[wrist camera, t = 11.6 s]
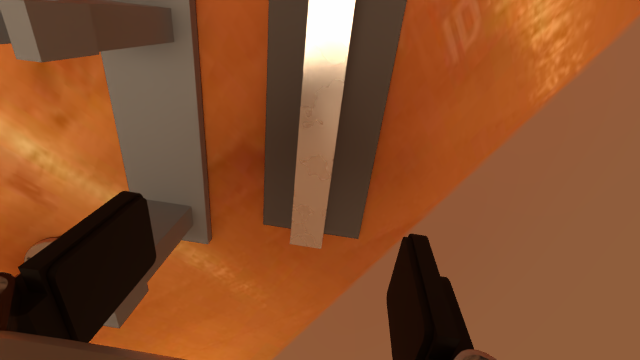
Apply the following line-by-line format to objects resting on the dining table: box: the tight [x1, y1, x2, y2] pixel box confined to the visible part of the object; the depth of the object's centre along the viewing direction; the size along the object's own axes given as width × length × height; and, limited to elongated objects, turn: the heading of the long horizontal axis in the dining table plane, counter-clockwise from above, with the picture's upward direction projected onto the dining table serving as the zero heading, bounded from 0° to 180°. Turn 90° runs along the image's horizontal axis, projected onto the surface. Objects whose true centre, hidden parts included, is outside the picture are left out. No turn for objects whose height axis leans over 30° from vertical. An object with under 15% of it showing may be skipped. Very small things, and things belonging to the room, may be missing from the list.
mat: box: [263, 0, 407, 239], centre depth 27 cm, size 25×10×1 cm, turn 174°
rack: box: [0, 0, 212, 328], centre depth 24 cm, size 25×8×14 cm, turn 174°
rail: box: [290, 0, 356, 249], centre depth 26 cm, size 24×3×3 cm, turn 174°
